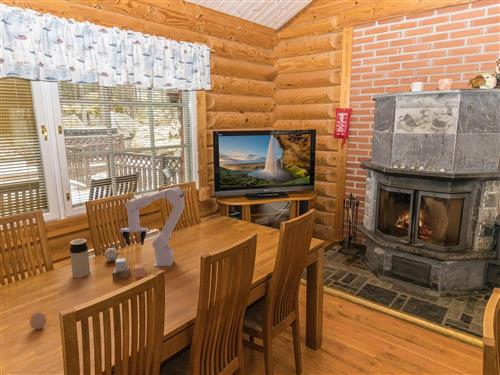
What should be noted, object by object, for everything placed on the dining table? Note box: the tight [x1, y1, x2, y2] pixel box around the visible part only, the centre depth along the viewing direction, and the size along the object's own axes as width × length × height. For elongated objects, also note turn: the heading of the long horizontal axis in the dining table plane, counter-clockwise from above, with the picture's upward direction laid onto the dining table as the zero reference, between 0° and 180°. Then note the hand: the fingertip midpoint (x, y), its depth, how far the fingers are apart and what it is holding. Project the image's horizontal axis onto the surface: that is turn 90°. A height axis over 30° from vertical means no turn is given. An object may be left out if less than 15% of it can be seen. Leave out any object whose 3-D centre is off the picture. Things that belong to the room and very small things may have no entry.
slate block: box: [114, 257, 127, 272], centre depth 168 cm, size 4×4×5 cm
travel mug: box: [69, 238, 91, 279], centre depth 168 cm, size 8×8×18 cm
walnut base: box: [111, 265, 131, 281], centre depth 168 cm, size 7×7×4 cm
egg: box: [29, 310, 47, 330], centre depth 125 cm, size 5×5×7 cm
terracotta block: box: [134, 263, 146, 279], centre depth 170 cm, size 4×4×5 cm
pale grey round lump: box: [102, 246, 120, 263], centre depth 186 cm, size 9×8×10 cm
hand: (135, 244), depth 185 cm, fingers open, 7 cm apart
